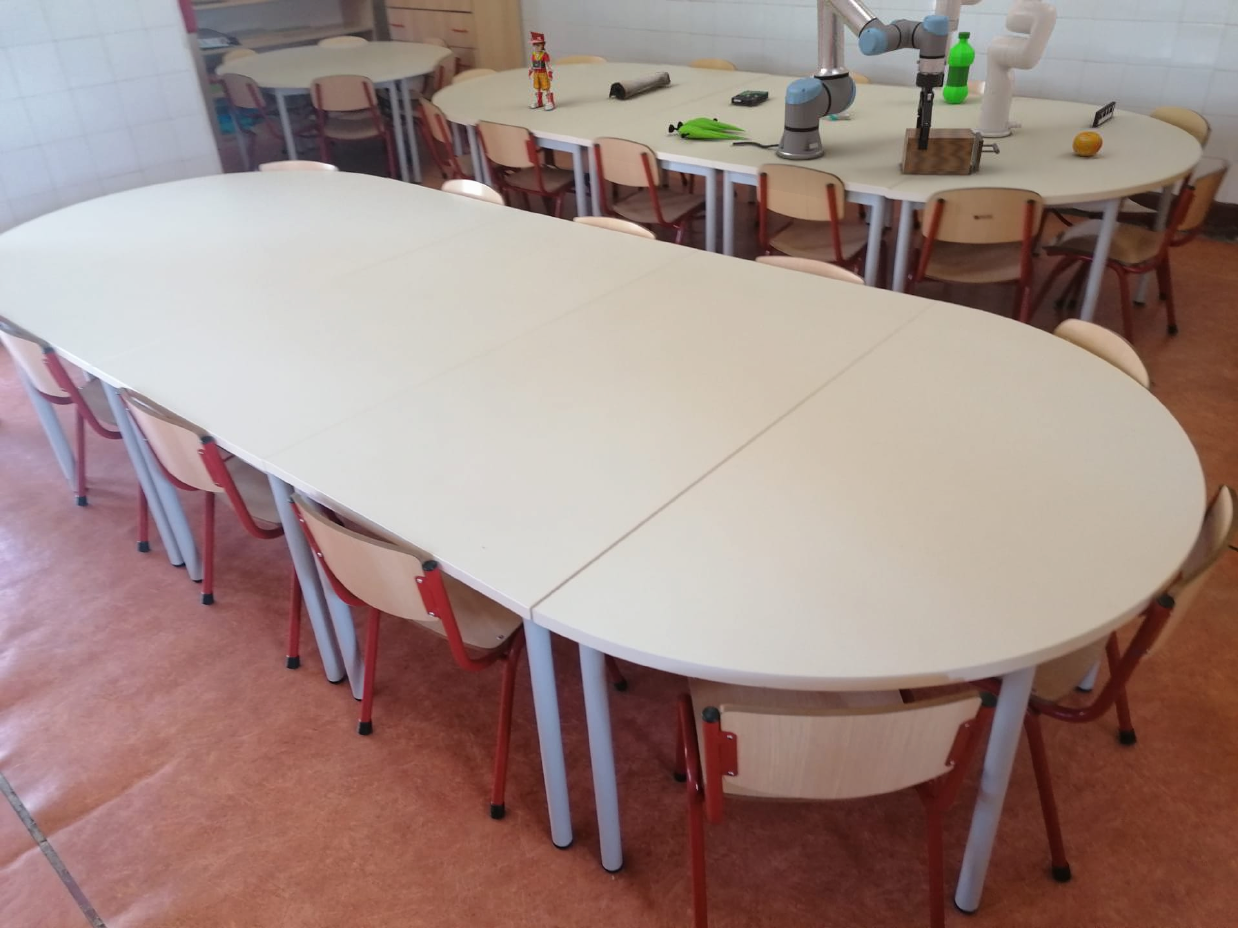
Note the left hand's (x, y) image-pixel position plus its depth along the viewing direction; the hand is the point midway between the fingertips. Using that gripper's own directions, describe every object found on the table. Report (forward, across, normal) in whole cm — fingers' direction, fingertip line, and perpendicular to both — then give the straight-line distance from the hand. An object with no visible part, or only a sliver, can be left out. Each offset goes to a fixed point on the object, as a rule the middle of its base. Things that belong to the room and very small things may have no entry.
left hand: (920, 144), depth 284 cm
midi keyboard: (+8, -57, +68) cm, 89 cm away
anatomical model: (+7, -67, -28) cm, 73 cm away
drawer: (+7, 0, +11) cm, 13 cm away
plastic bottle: (+8, -88, +20) cm, 90 cm away
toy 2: (+7, -39, -71) cm, 81 cm away
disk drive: (+7, -90, -61) cm, 109 cm away
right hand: (-14, -18, +4) cm, 23 cm away
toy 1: (+7, -82, -148) cm, 170 cm away
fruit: (+8, -16, +53) cm, 56 cm away
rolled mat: (+7, -109, -110) cm, 155 cm away
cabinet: (+8, 0, +5) cm, 9 cm away
